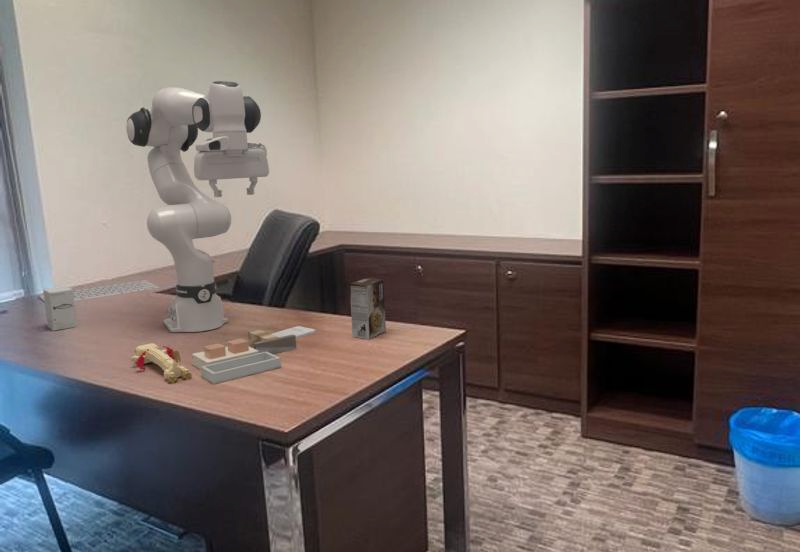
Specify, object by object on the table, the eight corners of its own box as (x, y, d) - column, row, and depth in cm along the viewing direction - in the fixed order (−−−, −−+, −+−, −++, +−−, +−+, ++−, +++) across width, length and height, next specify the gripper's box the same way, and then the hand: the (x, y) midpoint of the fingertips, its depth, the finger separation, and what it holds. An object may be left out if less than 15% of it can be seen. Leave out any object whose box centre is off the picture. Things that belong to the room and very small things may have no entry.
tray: (201, 376, 169) (200, 366, 169) (267, 360, 180) (266, 351, 179) (213, 384, 163) (212, 373, 163) (281, 367, 174) (280, 357, 174)
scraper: (234, 348, 193) (233, 334, 192) (273, 339, 200) (272, 326, 199) (256, 358, 182) (255, 344, 182) (296, 349, 190) (295, 335, 189)
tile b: (228, 350, 180) (227, 341, 179) (242, 347, 182) (241, 338, 182) (234, 353, 176) (233, 344, 176) (248, 350, 179) (248, 341, 178)
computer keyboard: (47, 306, 257) (47, 302, 257) (37, 299, 271) (37, 295, 271) (161, 289, 282) (161, 285, 282) (147, 283, 297) (147, 279, 297)
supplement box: (53, 331, 218) (48, 292, 215) (47, 327, 223) (42, 289, 221) (77, 327, 222) (73, 289, 220) (71, 323, 228) (67, 285, 226)
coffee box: (368, 329, 207) (366, 277, 204) (386, 332, 204) (384, 278, 201) (351, 337, 199) (348, 283, 196) (369, 339, 196) (367, 284, 193)
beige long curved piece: (200, 381, 170) (160, 352, 188) (198, 348, 168) (158, 322, 186) (160, 391, 163) (123, 361, 182) (158, 357, 161) (121, 329, 180)
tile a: (204, 355, 176) (203, 346, 175) (219, 352, 178) (218, 343, 178) (210, 359, 173) (210, 349, 172) (225, 355, 175) (225, 346, 175)
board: (192, 365, 178) (191, 353, 178) (242, 353, 187) (241, 343, 186) (208, 374, 171) (207, 362, 170) (259, 361, 179) (258, 350, 178)
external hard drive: (266, 340, 202) (297, 330, 211) (284, 344, 196) (316, 334, 206) (265, 334, 201) (297, 325, 211) (284, 339, 196) (315, 329, 206)
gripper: (260, 143, 191) (264, 192, 194) (189, 144, 179) (194, 198, 181) (271, 142, 186) (274, 193, 189) (198, 144, 174) (203, 198, 176)
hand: (234, 195), depth 185 cm, fingers open, 8 cm apart
